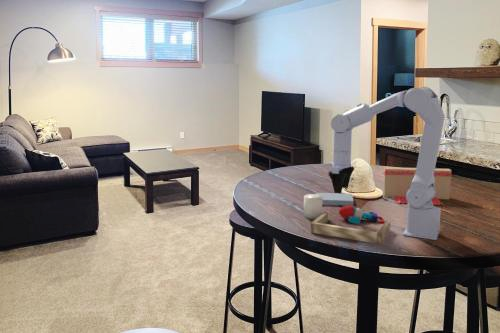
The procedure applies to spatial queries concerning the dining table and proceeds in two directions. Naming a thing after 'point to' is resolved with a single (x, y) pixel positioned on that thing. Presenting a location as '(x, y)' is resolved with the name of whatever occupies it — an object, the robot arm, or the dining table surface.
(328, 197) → the slate box
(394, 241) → the dining table surface
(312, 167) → the dining table surface
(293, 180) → the dining table surface
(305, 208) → the cream rounded block
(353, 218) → the toy figure
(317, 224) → the wooden tray
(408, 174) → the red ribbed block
